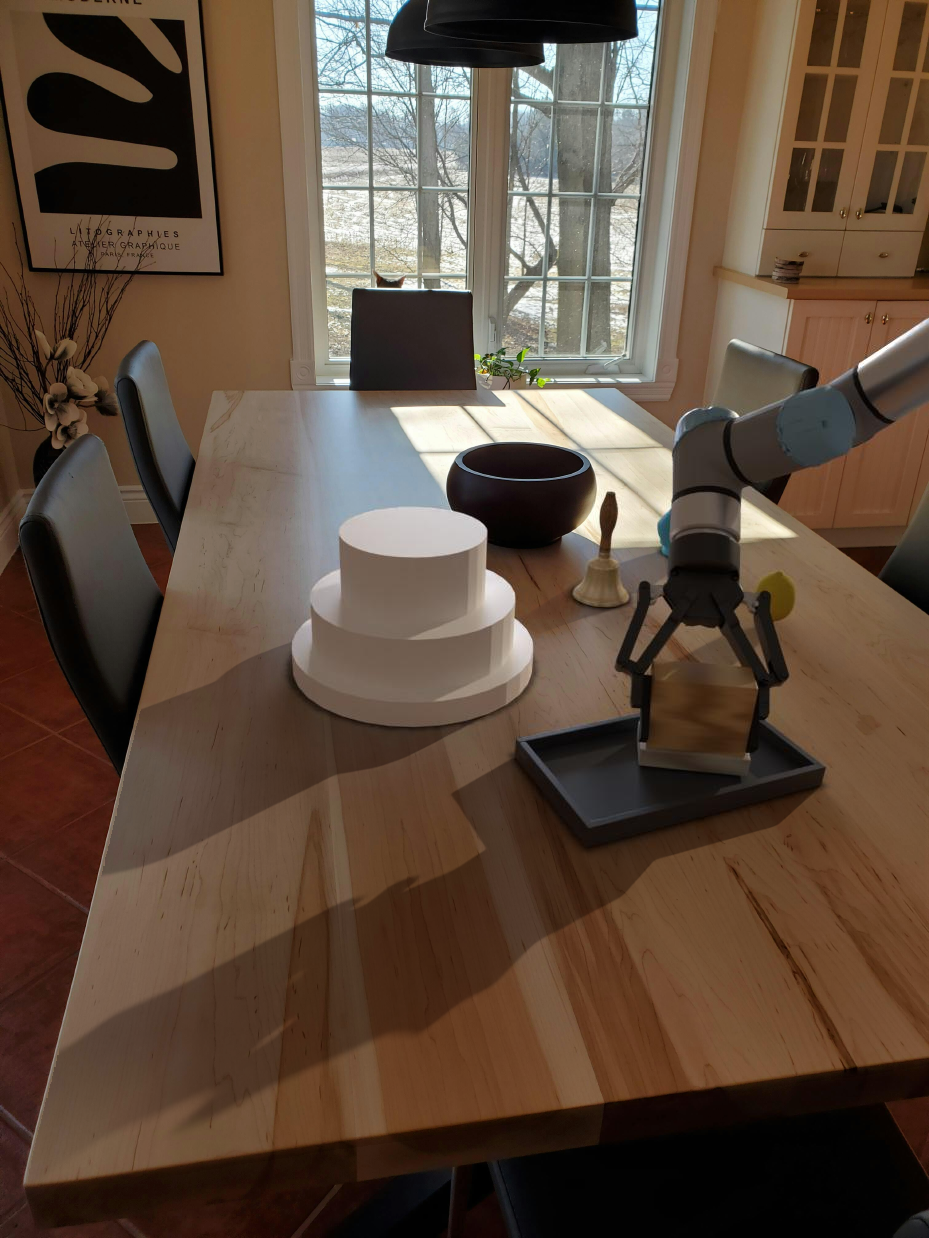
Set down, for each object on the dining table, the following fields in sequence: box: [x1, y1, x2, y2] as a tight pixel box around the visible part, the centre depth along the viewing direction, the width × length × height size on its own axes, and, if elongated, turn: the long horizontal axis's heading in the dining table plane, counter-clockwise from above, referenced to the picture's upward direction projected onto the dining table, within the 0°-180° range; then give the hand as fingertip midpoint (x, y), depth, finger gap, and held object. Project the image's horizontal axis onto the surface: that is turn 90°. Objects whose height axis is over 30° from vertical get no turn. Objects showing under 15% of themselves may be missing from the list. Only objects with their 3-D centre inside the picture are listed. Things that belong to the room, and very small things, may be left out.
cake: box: [291, 506, 534, 728], centre depth 110 cm, size 30×30×18 cm
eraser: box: [637, 658, 758, 776], centre depth 92 cm, size 11×6×10 cm, turn 82°
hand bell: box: [572, 490, 630, 608], centre depth 130 cm, size 8×8×16 cm
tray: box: [514, 712, 827, 849], centre depth 93 cm, size 16×28×2 cm, turn 112°
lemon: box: [753, 570, 797, 623], centre depth 125 cm, size 6×6×8 cm
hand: (697, 745), depth 91 cm, fingers closed on eraser, 10 cm apart
